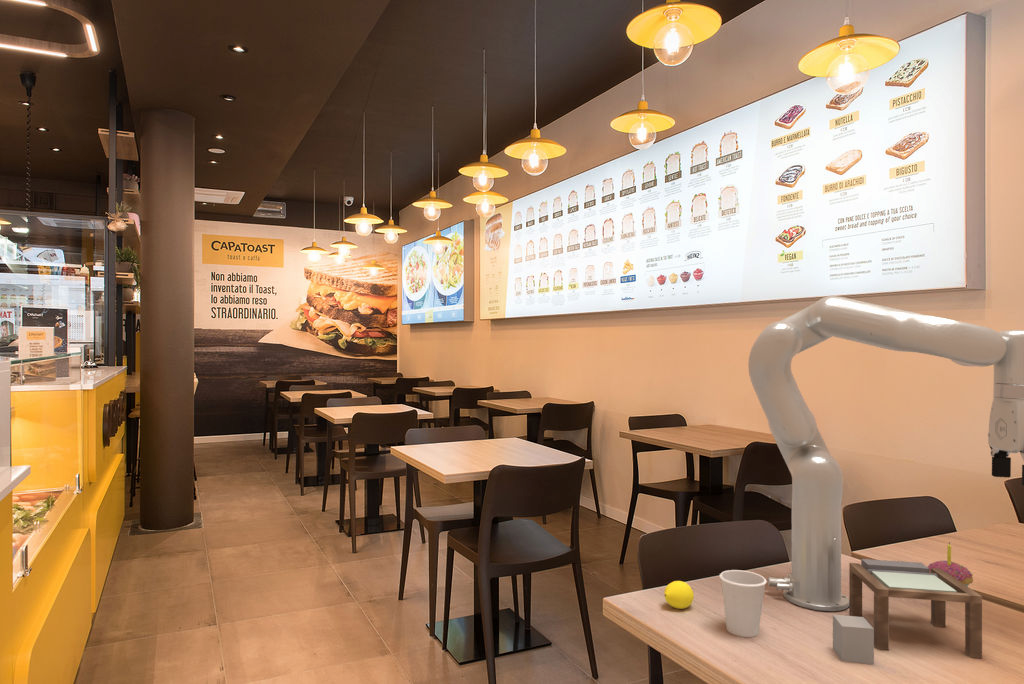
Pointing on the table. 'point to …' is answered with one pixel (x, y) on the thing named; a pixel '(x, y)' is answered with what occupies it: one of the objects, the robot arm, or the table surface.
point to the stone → (853, 639)
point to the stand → (937, 598)
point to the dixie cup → (742, 601)
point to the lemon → (678, 594)
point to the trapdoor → (905, 575)
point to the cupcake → (953, 569)
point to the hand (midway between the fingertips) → (1016, 481)
